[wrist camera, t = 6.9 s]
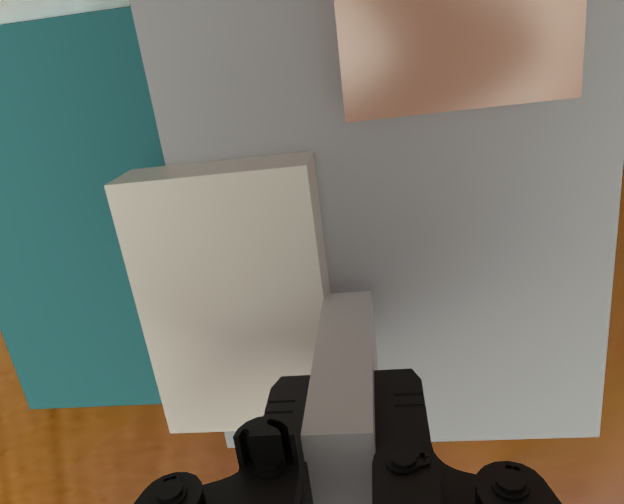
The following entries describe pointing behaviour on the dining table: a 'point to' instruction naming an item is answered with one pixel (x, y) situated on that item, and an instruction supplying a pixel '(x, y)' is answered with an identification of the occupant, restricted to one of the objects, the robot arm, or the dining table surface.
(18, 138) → the mat
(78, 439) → the dining table surface
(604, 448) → the dining table surface
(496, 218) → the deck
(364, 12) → the salmon pink block
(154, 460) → the dining table surface
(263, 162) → the cream rectangular block
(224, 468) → the dining table surface
